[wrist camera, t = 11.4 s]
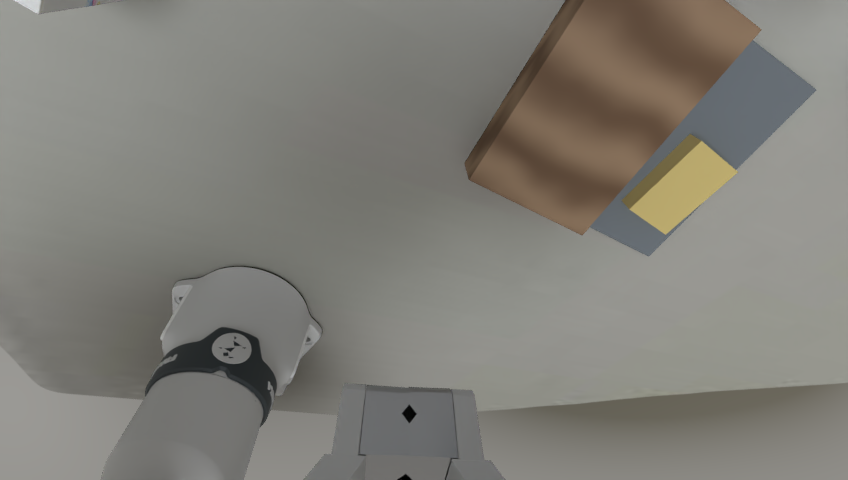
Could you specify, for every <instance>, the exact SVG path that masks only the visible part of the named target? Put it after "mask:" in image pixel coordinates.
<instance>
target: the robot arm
mask: <svg viewBox="0 0 848 480" xmlns="http://www.w3.org/2000/svg"><path fill="white" fill-rule="evenodd" d="M172 308H173V315H172V317H171V319H170V320H169V322H168V324H167V325H166V327H165V329H164V330H163V332H162V334H161V337H160V339H161V340H162V350H163V354H164V358H163V360H162V361H161V363H160V364H159V365H158V366H157V367H156V369H155V370H154V372H153V374H152V376H151V380H150V381H149V383H148V385H147V387H146V391H145V396H146V397H145V399H144V400H143V402H142V403H141V405H140V407H139V408H138V410H137V412H136V413H135V415H134V417H133V418H132V420H131V421H130V423H129V425H128V426H127V428H126V429H125V431H124V433H123V434H122V436H121V438H120V439H119V441H118V443H117V444H116V446H115V447H114V449H113V451H112V452H111V454H110V456H109V457H108V459H107V461H106V464H105V466H104V470H103V472H102V477H101V480H244V477H245V474H246V470H247V467H248V464H249V461H250V457H251V454H252V451H253V448H254V444H255V441H256V438H257V435H258V431H259V428H260V427H261V426H262V425H263V424H264V422H265V421H266V419H267V417H268V414H269V412H270V411H271V408H272V406H273V403H274V397H275V395H276V396H281V395H282V394H283V392H284V391H285V389H286V386H287V385H289V384H290V383H291V381H292V379H293V377H294V375H295V373H296V370H297V367H298V364H299V361H300V359H301V358H302V357H303V356H304V355H305V354H306V353H307V351H308V350H309V349H310V348H311V347H312V346H313V345H314V344H315V343H316V342H317V341H318V340H319V339H320V337H321V334H322V329H321V327H320V326H319V325H318V323H317V322H316V321H315V320H314V319H313V318H312V317H311V316H310V314H309V312H308V309H307V306H306V303H305V301H304V300H303V298H302V296H301V295H300V294H299V293H298V291H297V290H296V289H295V288H294V287H292V286H291V285H290V284H289V283H287V282H286V281H284V280H283V279H281V278H279V277H277V276H276V275H273V274H271V273H268V272H266V271H262V270H259V269H254V268H248V267H229V268H223V269H219V270H216V271H214V272H211V273H209V274H207V275H205V276H204V277H201V278H198V279H188V280H181V281H178V282H176V283H175V285H174V287H173V289H172ZM307 337H308V338H307ZM304 480H505V478H504V477H503V476H502V475H501V473H500V472H499V471H498V469H497V468H496V467H495V465H494V464H493V463H492V462H491V461H490V460H484V455H483V449H482V442H481V435H480V429H479V422H478V415H477V408H476V402H475V395H474V393H473V391H472V390H456V389H450V388H423V387H408V388H405V387H391V386H377V385H367V386H366V384H348V383H344V386H343V389H342V393H341V400H340V406H339V412H338V418H337V424H336V431H335V436H334V442H333V449H332V454H324V456H323V457H322V458H321V459H320V460H319V462H318V463H317V464H316V465H315V466H314V468H313V469H312V470H311V471H310V472H309V474H308V475H307V476H306V477H305V479H304Z"/></svg>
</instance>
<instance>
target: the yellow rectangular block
mask: <svg viewBox="0 0 848 480" xmlns="http://www.w3.org/2000/svg"><path fill="white" fill-rule="evenodd" d="M737 172H738V171H736V170H735V169H734V168H733V167H732V166H730V165H729V164H728V163H727V162H726V161H725V160H723V159H722V158H721V157H720V156H719V155H718V154H716V153H715V152H714V151H713V150H712V149H711V148H709V147H708V146H707V145H706V144H705V143H704V142H702V141H701V140H699V139H698V138H696V137H694V136H693V135H691V134H689V135H688V136H687V137H686V138H685V139H684V140H683V141H682V142H681V143H680V144H679V145H678V146H677V147H676V148H675V149H674V150H673V151H672V152H671V153H670V154H669V155H668V156H667V157H666V158H665V159H664V160H662V161H661V162H660V163H659V164H658V165H657V166H656V167H655V168H654V169H653V170H652V171H651V172H650V173H649V174H648V175H647V176H646V177H645V178H644V179H643V180H642V181H641V182H640V183H639V184H638V185H637V186H636V187H635V188H634V189H633V190H632V191H631V192H630V193H629V194H627V195H626V196H625V197H624V198H623V199H622V200H621V201H622V202H623V203H624V204H625V205H626V206H627V207H628V208H629V210H631V211H632V212H634V213H635V214H637V215H638V216H639V217H641V218H642V219H644V220H645V221H647V222H648V223H649V224H651V225H652V226H654V227H655V228H657V229H658V230H659V231H661V232H662V233H664V234H665V235H666V234H667V233H668V232H670V231H671V230H672V229H673V228H674V227H675V226H676V225H678V224H679V223H680V222H681V221H682V220H683V219H684V218H686V217H687V216H688V215H689V214H690V213H691V212H693V211H694V210H695V209H696V208H697V207H698V206H699V205H701V204H702V203H703V202H704V201H705V200H706V199H708V198H709V197H710V196H711V195H712V194H713V193H714V192H716V191H717V190H718V189H719V188H720V187H721V186H723V185H724V184H725V183H726V182H727V181H728V180H729V179H731V178H732V177H733V176H734V175H735V174H736V173H737Z"/></svg>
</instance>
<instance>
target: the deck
mask: <svg viewBox="0 0 848 480" xmlns="http://www.w3.org/2000/svg"><path fill="white" fill-rule="evenodd" d="M760 31H761V29H760V28H759V27H758V26H756V25H755V24H754V23H753V22H751V21H750V20H749V19H748V18H746V17H745V16H744V15H742V14H741V13H740V12H739V11H737V10H736V9H735V8H734V7H732V6H731V5H730V4H729V3H727V2H726V1H725V0H566V1H565V2H564V4H563V5H562V7H561V9H560V10H559V12H558V14H557V15H556V17H555V18H554V20H553V22H552V23H551V25H550V26H549V28H548V30H547V31H546V33H545V34H544V36H543V38H542V39H541V41H540V43H539V44H538V46H537V47H536V49H535V51H534V52H533V54H532V55H531V57H530V59H529V60H528V62H527V63H526V65H525V67H524V68H523V70H522V72H521V73H520V75H519V76H518V78H517V80H516V81H515V83H514V84H513V86H512V88H511V89H510V91H509V92H508V94H507V96H506V97H505V99H504V101H503V102H502V104H501V105H500V107H499V109H498V110H497V112H496V113H495V115H494V117H493V118H492V120H491V121H490V123H489V125H488V126H487V128H486V130H485V131H484V133H483V134H482V136H481V138H480V139H479V141H478V142H477V144H476V146H475V147H474V149H473V150H472V152H471V154H470V155H469V157H468V159H467V160H466V162H465V167H466V170H467V174H468V178H469V180H470V181H472V182H474V183H476V184H478V185H480V186H483V187H485V188H487V189H489V190H491V191H493V192H495V193H497V194H499V195H501V196H503V197H505V198H507V199H509V200H511V201H513V202H515V203H517V204H519V205H521V206H523V207H525V208H527V209H529V210H531V211H534V212H536V213H538V214H540V215H542V216H544V217H546V218H548V219H550V220H552V221H554V222H556V223H558V224H560V225H562V226H564V227H566V228H568V229H570V230H572V231H574V232H576V233H578V234H580V235H583V234H584V233H585V232H586V231H587V229H588V228H589V227H590V226H591V225H592V224H593V223H594V221H595V220H596V219H597V218H598V217H599V216H600V214H601V213H602V212H603V211H604V210H605V209H606V208H607V206H608V205H609V204H610V203H611V202H612V201H613V200H614V198H615V197H616V196H617V195H618V194H619V193H620V192H621V190H622V189H623V188H624V187H625V186H626V185H627V184H628V182H629V181H630V180H631V179H632V178H633V177H634V176H635V174H636V173H637V172H638V171H639V170H640V169H641V168H642V166H643V165H644V164H645V163H646V162H647V161H648V159H649V158H650V157H651V156H652V155H653V154H654V153H655V151H656V150H657V149H658V148H659V147H660V146H661V145H662V143H663V142H664V141H665V140H666V139H667V138H668V137H669V135H670V134H671V133H672V132H673V131H674V130H675V129H676V127H677V126H678V125H679V124H680V123H681V122H682V121H683V119H684V118H685V117H686V116H687V115H688V114H689V113H690V111H691V110H692V109H693V108H694V107H695V106H696V104H697V103H698V102H699V101H700V100H701V99H702V98H703V96H704V95H705V94H706V93H707V92H708V91H709V90H710V88H711V87H712V86H713V85H714V84H715V83H716V82H717V80H718V79H719V78H720V77H721V76H722V75H723V74H724V72H725V71H726V70H727V69H728V68H729V67H730V66H731V64H732V63H733V62H734V61H735V60H736V59H737V58H738V56H739V55H740V54H741V53H742V52H743V51H744V49H745V48H746V47H747V46H748V45H749V44H750V43H751V41H752V40H753V39H754V38H755V37H756V36H757V35H758V33H759V32H760Z"/></svg>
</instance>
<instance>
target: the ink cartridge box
mask: <svg viewBox="0 0 848 480" xmlns="http://www.w3.org/2000/svg"><path fill="white" fill-rule="evenodd" d="M14 1H16V2H18V3H19V4H21V5H23V6H24V7H26V8H28V9H30V10H31V11H33V12H35V13H36V14H43V13H48V12H55V11H61V10H67V9H74V8H81V7H87V6H94V5H99V4H106V3H112V2H119V1H125V0H14Z"/></svg>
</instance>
